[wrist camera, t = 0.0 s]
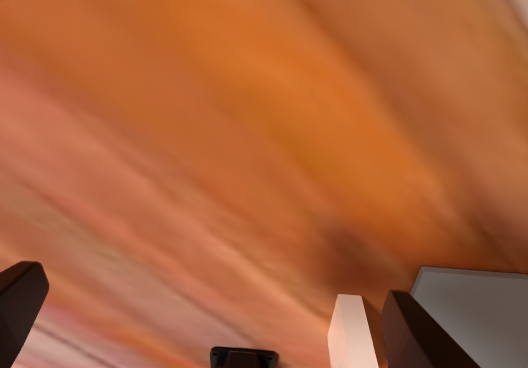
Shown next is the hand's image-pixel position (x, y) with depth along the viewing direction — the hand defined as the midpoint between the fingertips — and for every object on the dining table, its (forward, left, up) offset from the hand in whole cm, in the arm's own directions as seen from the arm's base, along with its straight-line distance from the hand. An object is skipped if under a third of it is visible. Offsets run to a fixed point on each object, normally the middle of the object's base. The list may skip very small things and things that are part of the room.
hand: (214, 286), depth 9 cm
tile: (-19, -9, -15) cm, 26 cm away
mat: (-18, -21, -15) cm, 32 cm away
